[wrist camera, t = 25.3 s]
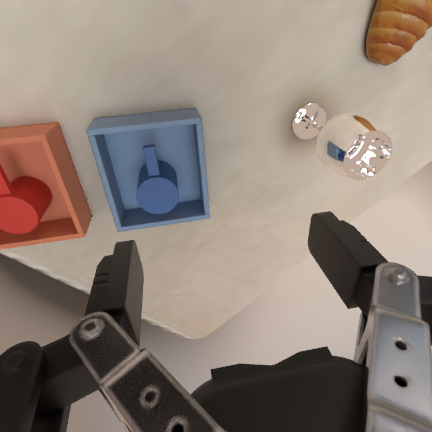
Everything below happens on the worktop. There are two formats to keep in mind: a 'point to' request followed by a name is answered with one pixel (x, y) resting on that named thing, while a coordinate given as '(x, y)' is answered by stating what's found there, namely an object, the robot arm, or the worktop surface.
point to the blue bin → (134, 160)
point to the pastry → (396, 28)
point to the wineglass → (344, 141)
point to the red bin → (49, 174)
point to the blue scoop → (156, 184)
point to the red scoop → (22, 203)
